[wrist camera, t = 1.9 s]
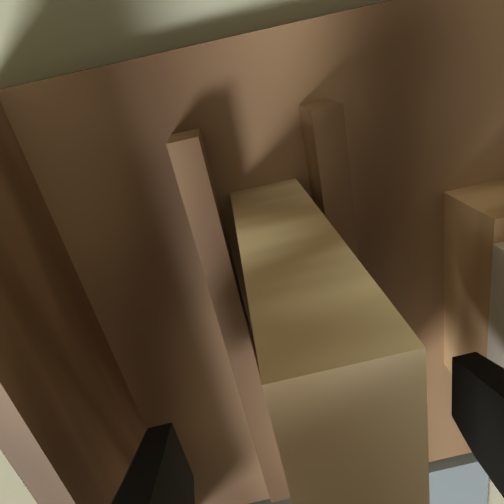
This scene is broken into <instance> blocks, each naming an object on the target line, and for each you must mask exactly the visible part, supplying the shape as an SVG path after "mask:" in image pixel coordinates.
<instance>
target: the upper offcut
mask: <svg viewBox="0 0 504 504" xmlns="http://www.w3.org/2000/svg"><path fill="white" fill-rule="evenodd" d="M487 358H488V359H489V360H491V361H493V362H494V363H496V364H497V365H499V366H501V367H502V368H504V242H500V243H495V244H493V256H492V274H491V291H490V309H489V326H488V344H487Z"/></svg>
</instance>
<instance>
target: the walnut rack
mask: <svg viewBox="0 0 504 504" xmlns="http://www.w3.org/2000/svg"><path fill="white" fill-rule="evenodd" d="M294 178H296V179H297V180H298V182H299V183H300V184H301V186H302V187H303V188H304V190H305V191H306V192H307V193H308V195H309V196H310V197H311V199H312V200H313V201H314V203H315V204H316V205H317V206H318V208H319V209H320V210H321V212H322V213H323V214H324V216H325V217H326V218H327V219H328V221H329V222H330V223H331V225H332V226H333V227H334V229H335V230H336V231H337V233H338V234H339V235H340V236H341V238H342V239H343V240H344V242H345V243H346V244H347V246H348V247H349V248H350V249H351V251H352V252H353V253H354V255H355V256H356V257H357V259H358V260H359V261H360V262H361V264H362V265H363V266H364V268H365V269H366V270H367V272H368V273H369V274H370V275H371V277H372V278H373V279H374V281H375V282H376V283H377V285H378V286H379V287H380V289H381V290H382V291H383V292H384V294H385V295H386V296H387V298H388V299H389V300H390V302H391V303H392V304H393V305H394V307H395V308H396V309H397V311H398V312H399V313H400V315H401V316H402V317H403V318H404V320H405V321H406V322H407V324H408V325H409V326H410V328H411V329H412V330H413V331H414V333H415V334H416V335H417V337H418V338H419V339H420V341H421V342H422V343H423V345H424V346H425V347H426V373H427V413H428V453H429V462H432V461H436V460H441V459H445V458H449V457H454V456H458V455H462V454H467V453H471V452H472V451H471V450H470V448H469V446H468V444H467V443H466V441H465V439H464V437H463V436H462V434H461V432H460V430H459V428H458V426H457V425H456V423H455V421H454V419H453V417H452V373H451V372H450V371H449V370H448V368H447V367H446V366H445V364H444V192H447V191H451V190H455V189H460V188H464V187H468V186H473V185H477V184H482V183H486V182H490V181H495V180H499V179H503V178H504V0H389V1H385V2H381V3H376V4H372V5H368V6H363V7H359V8H354V9H350V10H346V11H341V12H337V13H332V14H328V15H324V16H319V17H315V18H311V19H306V20H302V21H297V22H293V23H289V24H284V25H280V26H275V27H271V28H267V29H262V30H258V31H254V32H249V33H245V34H240V35H236V36H232V37H227V38H223V39H219V40H214V41H210V42H205V43H201V44H197V45H192V46H188V47H183V48H179V49H175V50H170V51H166V52H162V53H157V54H153V55H148V56H144V57H140V58H135V59H131V60H127V61H122V62H118V63H113V64H109V65H105V66H100V67H96V68H91V69H87V70H83V71H78V72H74V73H70V74H65V75H61V76H56V77H52V78H48V79H43V80H39V81H35V82H30V83H26V84H21V85H17V86H13V87H8V88H4V89H0V450H1V451H2V452H3V454H4V455H5V457H6V458H7V460H8V461H9V463H10V464H11V465H12V467H13V468H14V470H15V471H16V473H17V474H18V476H19V477H20V479H21V480H22V481H23V483H24V484H25V486H26V487H27V489H28V490H29V492H30V493H31V495H32V496H33V497H34V499H35V500H36V502H37V503H38V504H111V502H112V500H113V498H114V497H115V495H116V493H117V491H118V489H119V487H120V485H121V483H122V481H123V479H124V477H125V474H126V472H127V470H128V468H129V466H130V464H131V462H132V460H133V458H134V456H135V453H136V451H137V449H138V447H139V445H140V443H141V440H142V438H143V436H144V434H145V432H146V430H147V429H148V428H150V427H155V426H159V425H163V424H167V423H172V424H173V426H174V429H175V431H176V434H177V436H178V439H179V441H180V444H181V446H182V449H183V451H184V453H185V456H186V458H187V461H188V463H189V466H190V468H191V471H192V473H193V476H194V496H195V504H249V503H253V502H258V501H262V500H266V499H270V501H271V502H276V501H280V500H284V499H289V498H291V497H290V493H289V489H288V485H287V481H286V477H285V473H284V470H283V466H282V462H281V458H280V454H279V450H278V446H277V442H276V438H275V435H274V431H273V427H272V423H271V419H270V415H269V411H268V407H267V403H266V400H265V396H264V392H263V388H262V383H261V377H260V371H259V365H258V359H257V353H256V347H255V341H254V335H253V329H252V323H251V317H250V311H249V305H248V299H247V293H246V287H245V281H244V275H243V269H242V263H241V257H240V251H239V245H238V239H237V232H236V226H235V220H234V214H233V208H232V202H231V196H230V193H233V192H238V191H242V190H246V189H251V188H255V187H259V186H264V185H268V184H273V183H277V182H281V181H286V180H290V179H294Z"/></svg>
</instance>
